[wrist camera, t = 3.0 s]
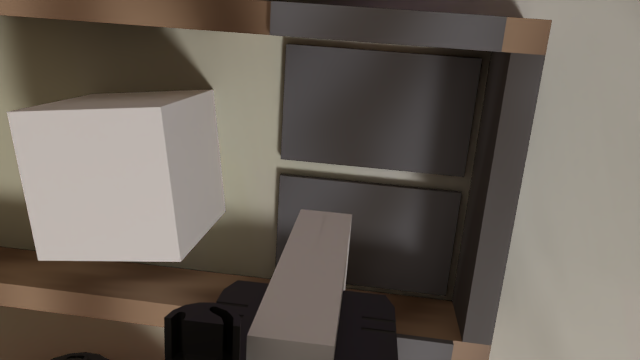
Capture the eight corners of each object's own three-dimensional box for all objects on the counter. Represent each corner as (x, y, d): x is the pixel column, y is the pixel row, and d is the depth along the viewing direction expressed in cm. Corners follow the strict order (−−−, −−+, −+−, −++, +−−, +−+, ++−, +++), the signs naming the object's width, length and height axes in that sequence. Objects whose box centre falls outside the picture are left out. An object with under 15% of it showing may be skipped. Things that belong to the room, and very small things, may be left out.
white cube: (113, 211, 26) (37, 261, 21) (94, 93, 25) (5, 111, 19) (227, 210, 26) (180, 262, 20) (214, 88, 24) (160, 106, 18)
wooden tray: (525, 22, 22) (554, 19, 18) (473, 325, 26) (488, 374, 22) (-240, -30, 25) (-347, -41, 21) (-179, 244, 29) (-260, 274, 25)
